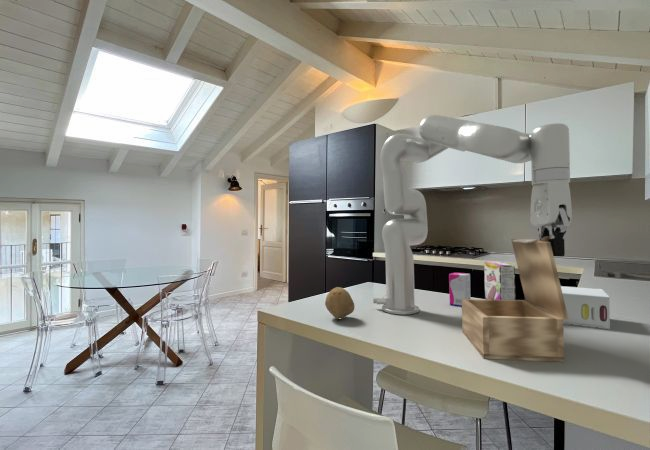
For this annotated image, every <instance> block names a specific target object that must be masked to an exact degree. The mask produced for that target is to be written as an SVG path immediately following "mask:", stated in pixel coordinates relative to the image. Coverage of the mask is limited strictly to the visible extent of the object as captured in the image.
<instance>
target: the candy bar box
mask: <svg viewBox="0 0 650 450" xmlns="http://www.w3.org/2000/svg"><path fill="white" fill-rule="evenodd" d="M483 268H484V269H483V270H484V271H483V272H484V299H488V300H516V278H515V277H516V275H515V274H516V271H515V270H516V269H515V268H516V267H515V265H513V264H509V263H505V262H501V261H496V260H495V261H483Z"/></svg>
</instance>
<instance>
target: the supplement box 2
mask: <svg viewBox="0 0 650 450" xmlns="http://www.w3.org/2000/svg"><path fill="white" fill-rule="evenodd" d="M561 289H562V294H563V298H564V302H565V306H566V310H567V315H568V319H563V318H562V319H563V323H564V324H563V325H571V324H573V325H574V326H579V325H582V326H581V327H587V326H590V327H589V328H596V327H598V328H597V329H606V330H610V329H611V320H610V318H611V317H610V311H611V310H610V304H611V303H610V296H609V294H608V293H607V292H605V291H604V289H602V288H591V287H589V288H588V287H579V286H577V287H576V286H563V285H561ZM538 307H539V306H538ZM540 308H541V307H540ZM542 309H543V308H542ZM544 310H545V309H544ZM546 311H547V310H546ZM548 312H549V311H548ZM550 313H551V312H550ZM552 314H553V313H552ZM554 315H555V314H554ZM556 316H557V315H556ZM558 317H559V316H558ZM560 318H561V317H560ZM573 325H572V326H573Z"/></svg>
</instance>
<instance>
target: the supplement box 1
mask: <svg viewBox="0 0 650 450" xmlns="http://www.w3.org/2000/svg"><path fill="white" fill-rule="evenodd" d="M448 283H449V288H448V289H449V293H448V294H449V306H454V307H460V308H462V299H472V297H471V296H472V295H471V273H465V272H452V273H449V274H448Z"/></svg>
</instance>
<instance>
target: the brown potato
mask: <svg viewBox="0 0 650 450" xmlns="http://www.w3.org/2000/svg"><path fill="white" fill-rule="evenodd" d="M324 305H325V308H326V309H327V311H328V312H329V313H330V314H331V315H332V317H333V318H335V319H337V318H343V319H345V318H346V317H347V316H348V315H350V314H352V313H353V312H354V311H355V302H354V300H353V298H352V297H351V295H350V293H349V292H348V291H347V290H346V289H345V288H344V287H341V286H340V287H339V286H336V287H334V288H332V289H331V290H330V291H329V292H328V293H327V295H326V297H325V302H324Z"/></svg>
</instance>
